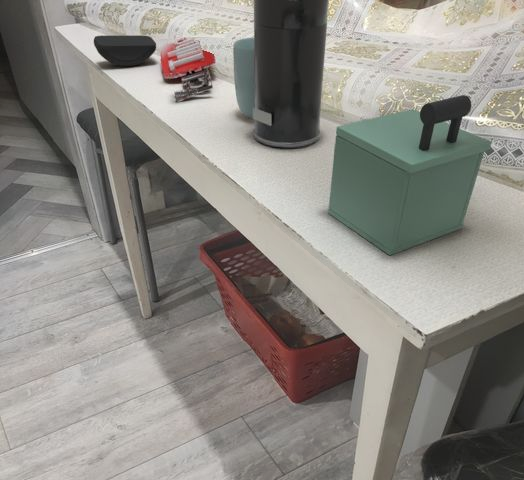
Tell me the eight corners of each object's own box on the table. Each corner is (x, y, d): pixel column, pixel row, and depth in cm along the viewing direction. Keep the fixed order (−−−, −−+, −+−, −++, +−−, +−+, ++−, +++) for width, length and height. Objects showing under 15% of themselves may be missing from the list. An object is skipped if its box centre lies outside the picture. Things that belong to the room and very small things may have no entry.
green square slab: (489, 149, 49) (506, 96, 46) (410, 173, 45) (421, 116, 42) (411, 116, 56) (420, 67, 53) (335, 134, 52) (340, 82, 49)
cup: (254, 105, 85) (253, 34, 78) (295, 113, 81) (297, 41, 75) (226, 118, 80) (222, 44, 73) (268, 127, 77) (268, 51, 70)
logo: (222, 77, 84) (163, 95, 84) (225, 88, 85) (167, 106, 86) (205, 27, 100) (157, 43, 101) (208, 37, 102) (160, 53, 102)
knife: (183, 54, 100) (209, 51, 99) (185, 67, 101) (211, 63, 101) (178, 84, 88) (207, 80, 88) (181, 98, 89) (209, 94, 89)
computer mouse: (97, 45, 96) (100, 69, 99) (157, 45, 99) (158, 68, 102) (91, 35, 100) (94, 58, 102) (149, 35, 103) (150, 57, 106)
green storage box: (461, 228, 55) (485, 148, 49) (389, 255, 51) (406, 172, 46) (396, 191, 62) (410, 117, 56) (328, 213, 58) (335, 135, 52)
